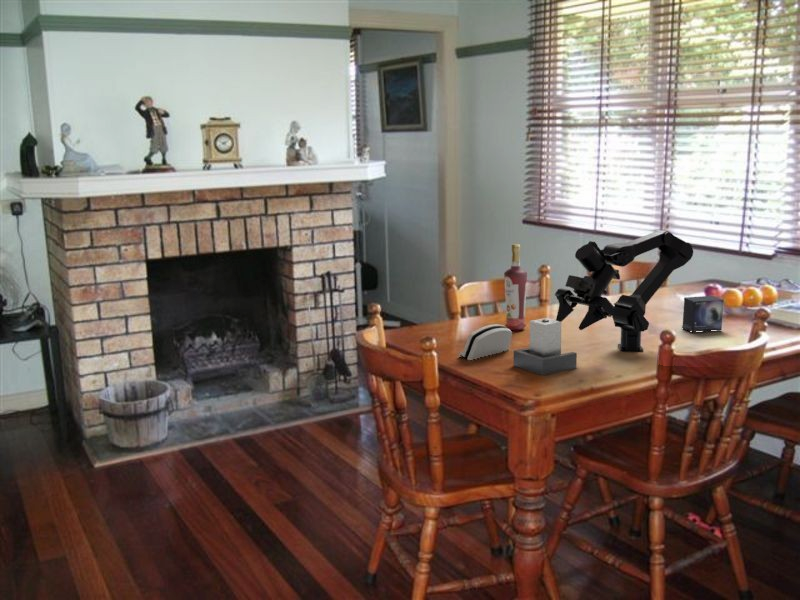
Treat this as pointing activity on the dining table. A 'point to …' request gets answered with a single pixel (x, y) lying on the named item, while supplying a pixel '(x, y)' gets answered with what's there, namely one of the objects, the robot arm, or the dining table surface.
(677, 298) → the dining table surface
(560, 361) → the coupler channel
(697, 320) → the small box
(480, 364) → the dining table surface
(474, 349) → the grey rounded block
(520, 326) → the liquor
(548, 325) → the block
